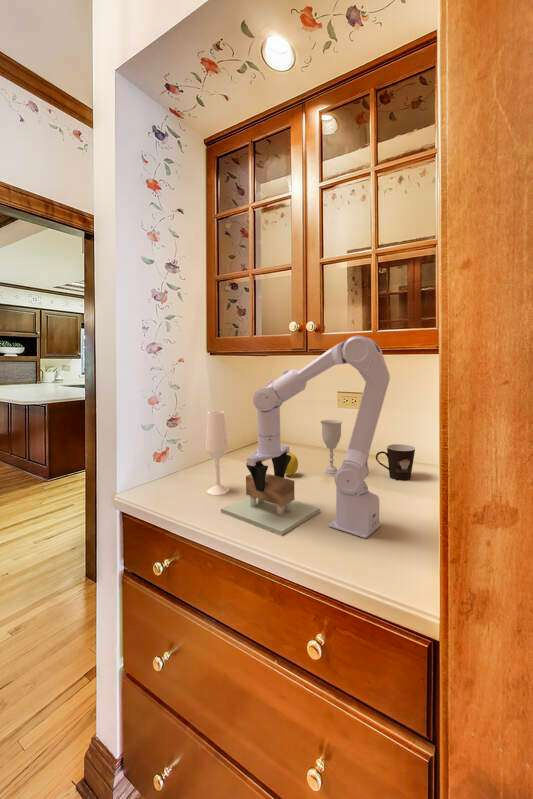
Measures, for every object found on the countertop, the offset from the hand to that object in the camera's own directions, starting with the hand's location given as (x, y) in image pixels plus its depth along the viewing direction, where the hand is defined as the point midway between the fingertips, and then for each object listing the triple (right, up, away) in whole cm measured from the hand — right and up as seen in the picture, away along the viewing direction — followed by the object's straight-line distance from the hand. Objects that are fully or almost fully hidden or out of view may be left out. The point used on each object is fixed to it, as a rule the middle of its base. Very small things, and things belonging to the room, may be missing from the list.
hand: (269, 486), depth 94 cm
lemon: (+7, -4, +29) cm, 30 cm away
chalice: (+21, -3, +30) cm, 37 cm away
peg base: (0, -7, +1) cm, 7 cm away
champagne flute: (-15, -5, +17) cm, 23 cm away
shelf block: (0, -3, 0) cm, 3 cm away
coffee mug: (+41, -3, +26) cm, 49 cm away
